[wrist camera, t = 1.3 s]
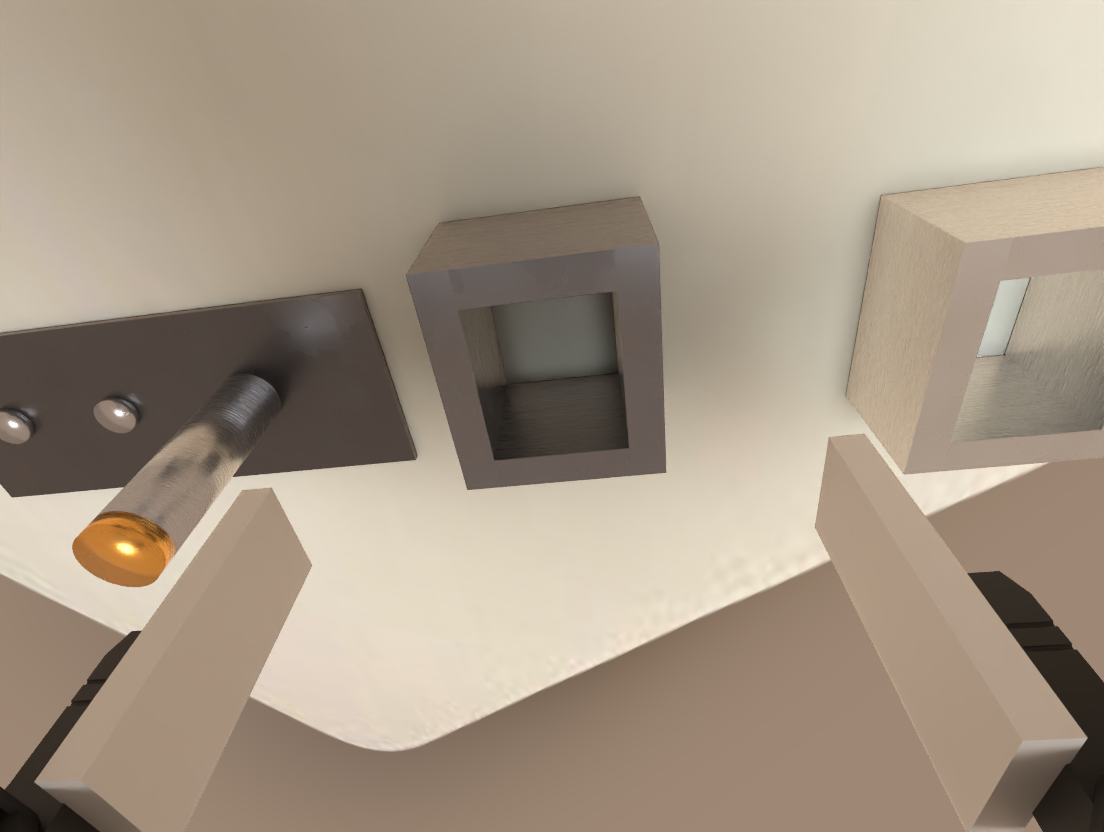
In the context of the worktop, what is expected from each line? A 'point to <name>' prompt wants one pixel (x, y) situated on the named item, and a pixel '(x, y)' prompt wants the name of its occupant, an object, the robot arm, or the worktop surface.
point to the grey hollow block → (555, 405)
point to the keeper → (190, 414)
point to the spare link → (961, 317)
